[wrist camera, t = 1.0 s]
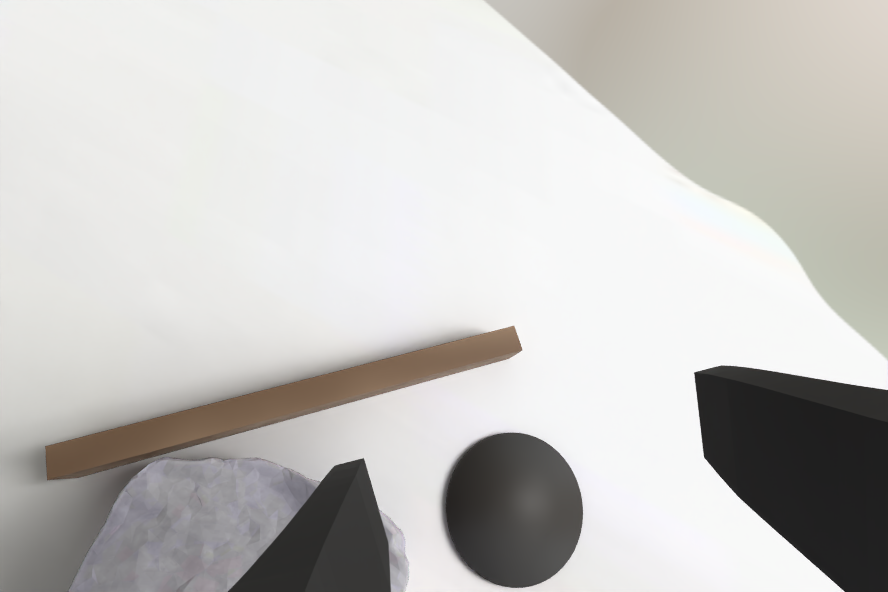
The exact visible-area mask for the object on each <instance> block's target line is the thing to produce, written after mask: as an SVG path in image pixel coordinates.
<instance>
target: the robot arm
mask: <svg viewBox="0 0 888 592" xmlns="http://www.w3.org/2000/svg"><path fill="white" fill-rule="evenodd" d="M694 374H695V383H696V392H697V400H698V409H699V417H700V426H701V435H702V443H703V452H704V458H705V459H706V460H707V461H708V462H709V464H710V465H711V466H712V467H713V468H714V470H715V471H716V472H717V473H718V474H719V476H720V477H721V478H722V479H723V480H724V481H725V482H726V484H727V485H728V486H729V487H730V488H731V489H732V490H733V491H734V492H735V493H736V495H737V496H738V497H739V498H740V499H741V500H743V501H744V502H745V503H746V504H747V505H748V506H749V507H750V508H751V509H752V510H753V511H755V512H756V513H757V514H758V515H759V516H760V517H761V518H762V519H763V520H765V521H766V522H767V523H768V524H769V525H770V526H771V527H772V528H773V529H775V530H776V531H777V532H778V533H779V534H780V535H781V536H783V537H784V538H785V539H786V540H787V541H788V542H789V543H790V544H792V545H793V546H794V547H795V548H796V549H797V550H798V551H799V552H801V553H802V554H803V555H804V556H805V557H806V558H807V559H809V560H810V561H811V562H812V563H813V564H814V565H815V566H816V567H818V568H819V569H820V570H821V571H822V572H823V573H824V574H825V575H827V576H828V577H829V578H830V579H831V580H832V581H833V582H835V583H836V584H837V585H838V586H839V587H840V588H841V589H842V590H844V591H845V592H888V390H883V389H876V388H869V387H863V386H857V385H850V384H844V383H838V382H832V381H826V380H820V379H814V378H808V377H802V376H797V375H791V374H785V373H779V372H773V371H767V370H760V369H753V368H746V367H737V366H718V367H714V368H710V369H706V370H702V371H698V372H695V373H694ZM228 592H391V581H390V561H389V544H388V539H387V536H386V532H385V529H384V526H383V522H382V519H381V515H380V512H379V509H378V505H377V502H376V498H375V495H374V491H373V488H372V485H371V481H370V478H369V474H368V471H367V468H366V464H365V461H364V458H363V459H359V460H355V461H351V462H347V463H344V464H340V465H336V466H334V467H333V468H332V469H331V471H330V472H329V473H328V474H327V475H326V477H325V478H324V479H323V480H322V482H321V483H320V484H319V485H318V487H317V488H316V489H315V491H314V492H313V493H312V494H311V496H310V497H309V498H308V500H307V501H306V502H305V503H304V505H303V506H302V507H301V508H300V510H299V511H298V512H297V513H296V515H295V516H294V517H293V518H292V520H291V521H290V522H289V523H288V525H287V526H286V527H285V528H284V529H283V531H282V532H281V533H280V534H279V535H278V536H277V538H276V539H275V540H274V541H273V542H272V543H271V544H270V546H269V547H268V548H267V549H266V550H265V551H264V552H263V554H262V555H261V556H260V557H259V558H258V559H257V560H256V562H255V563H254V564H253V565H252V566H251V567H250V568H249V570H248V571H247V572H246V573H245V574H244V575H243V576H242V577H241V578H240V579H239V580H238V581H237V582H236V584H235V585H234V586H233V587H232V588H231V589H230V590H229V591H228Z"/></svg>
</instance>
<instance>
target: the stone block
mask: <svg viewBox="0 0 888 592" xmlns="http://www.w3.org/2000/svg"><path fill="white" fill-rule="evenodd" d="M320 483H321V482H319V481H315V480H311V479H308V478H306V477H304V476H303V475H301V474H300V473H297V472H295V471H293V470H291V469H288V468H284V467H282V466H279V465H277V464H275V463H272V462H269V461H267V460H263V459H259V458H245V459H227V460H222V459H219V458H206V459H202V460H185V459H177V458H170V457H163V458H160V459H157V460H156V461H154V462H152V463H150V464H148V465H147V466H146V467H145V468H144V469H142V470H141V471H140V472H139V473H137V474H136V475H135V476H134V477H132V478H131V480H130V481H129V482H128V484H127V485H126V486H125V487H124V488H123V490H122V491H121V492H120V493H119V495H118V497H117V499H116V501H115V502H114V505H113V507H112V509H111V511H110V513H109V515H108V517H107V520H106V523H105V524H104V526H103V527H102V528H101V530H100V532H99V534H98V536H97V537H96V538H95V539H94V542H93V544H92V546H91V547H90V549H89V550H88V552H87V554H86V556H85V558H84V560H83V562H82V564H81V566H80V568H79V570H78V572H77V574H76V576H75V577H74V580H73V582H72V584H71V587H70V589H69V591H68V592H228V591H229V590H230V589H231V588H232V587H233V586H234V585H235V584H236V582H237V581H238V580H239V579H240V578H241V577H242V576H243V575H244V574H245V573H246V572H247V571H248V570H249V568H250V567H251V566H252V565H253V564H254V563H255V562H256V560H257V559H258V558H259V557H260V556H261V555H262V554H263V552H264V551H265V550H266V549H267V548H268V547H269V546H270V544H271V543H272V542H273V541H274V540H275V539H276V538H277V536H278V535H279V534H280V533H281V532H282V531H283V529H284V528H285V527H286V526H287V525H288V523H289V522H290V521H291V520H292V518H293V517H294V516H295V515H296V513H297V512H298V511H299V510H300V508H301V507H302V506H303V505H304V503H305V502H306V501H307V500H308V498H309V497H310V496H311V494H312V493H313V492H314V491H315V489H316V488H317V487H318V485H319V484H320ZM379 512H380V515H381V519H382V522H383V526H384V529H385V532H386V536H387V539H388V544H389V561H390V581H391V592H405V590H406V587H407V583H408V578H409V562H408V560H407V557H406V555H405V538H404V535H403V533H402V531H401V530H400V529H399V528H398V527H397V526H396V525H395V524H394V523H393V521H392V520H391V519H390V518H389V517H388V516H387V515H385V514H384V513H383V512H382V511H381V510H379Z"/></svg>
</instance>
